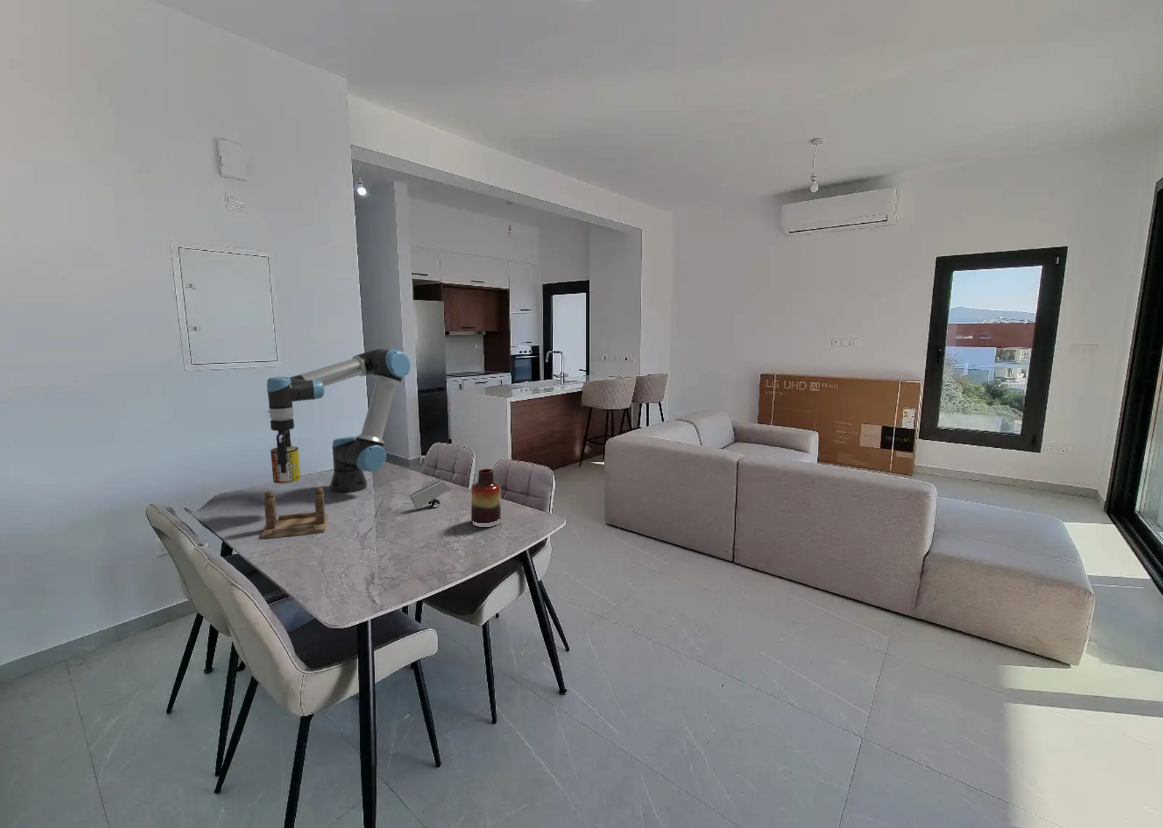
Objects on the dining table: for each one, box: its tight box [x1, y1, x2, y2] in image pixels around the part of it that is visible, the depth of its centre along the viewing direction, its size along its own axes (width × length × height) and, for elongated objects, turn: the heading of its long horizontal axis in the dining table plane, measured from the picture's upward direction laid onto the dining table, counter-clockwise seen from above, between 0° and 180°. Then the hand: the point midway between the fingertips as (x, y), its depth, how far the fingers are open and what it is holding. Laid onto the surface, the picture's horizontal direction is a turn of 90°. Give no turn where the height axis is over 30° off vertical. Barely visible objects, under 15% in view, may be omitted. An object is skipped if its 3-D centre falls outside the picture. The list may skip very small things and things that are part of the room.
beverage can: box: [270, 445, 302, 484], centre depth 193 cm, size 9×9×12 cm
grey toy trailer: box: [408, 479, 450, 510], centre depth 208 cm, size 4×10×15 cm
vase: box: [470, 468, 502, 523], centre depth 192 cm, size 11×11×20 cm
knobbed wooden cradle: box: [260, 487, 329, 540], centre depth 182 cm, size 19×15×14 cm
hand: (287, 477), depth 194 cm, fingers closed on beverage can, 9 cm apart
